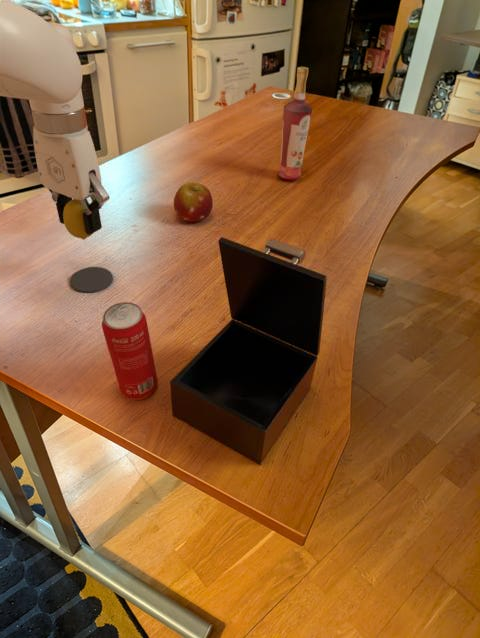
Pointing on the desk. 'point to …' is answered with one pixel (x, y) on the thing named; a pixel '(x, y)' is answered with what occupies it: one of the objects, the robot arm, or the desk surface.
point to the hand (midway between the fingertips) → (80, 225)
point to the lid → (275, 292)
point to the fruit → (193, 202)
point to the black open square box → (243, 388)
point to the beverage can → (130, 349)
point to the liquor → (295, 130)
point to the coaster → (91, 279)
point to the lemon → (75, 219)
